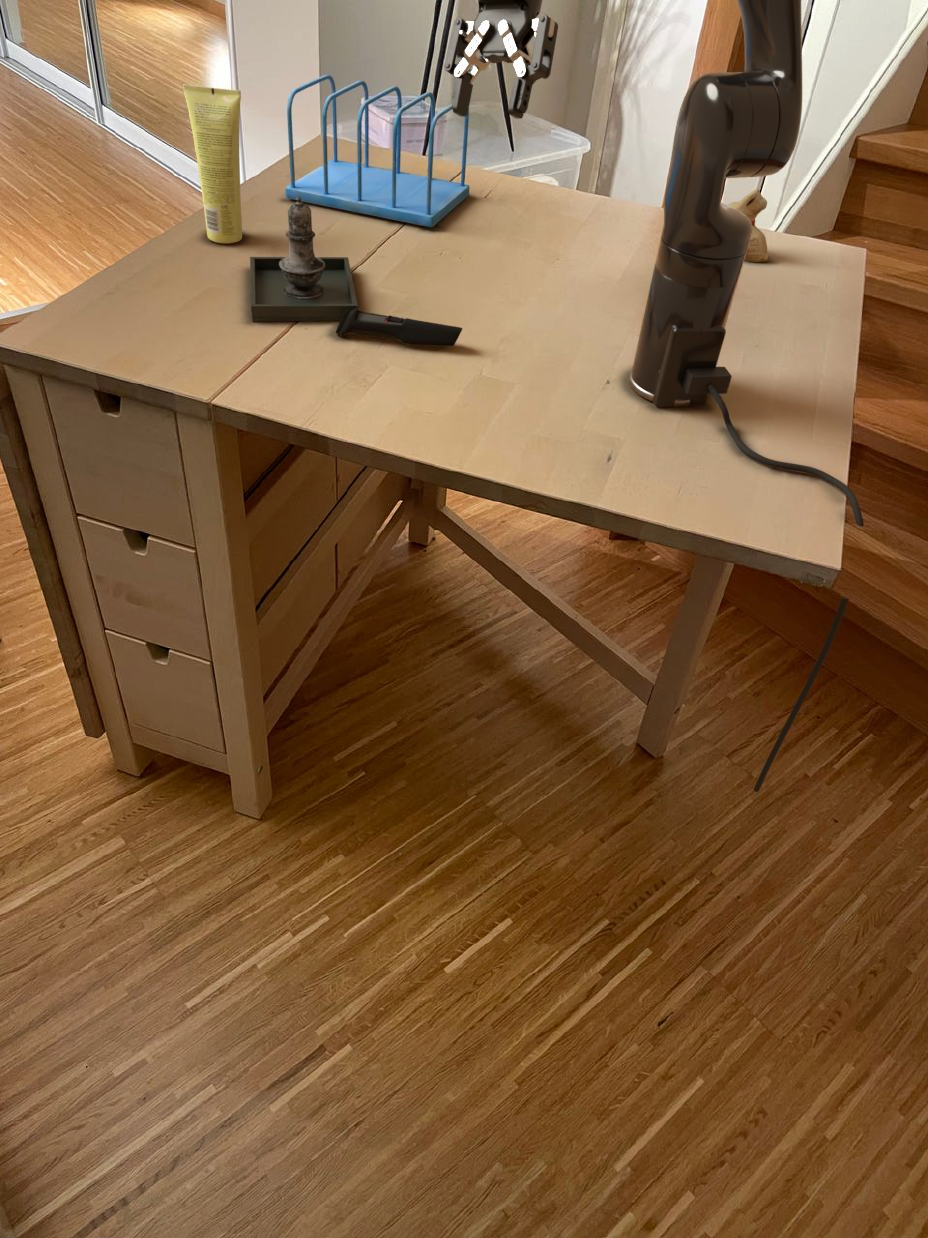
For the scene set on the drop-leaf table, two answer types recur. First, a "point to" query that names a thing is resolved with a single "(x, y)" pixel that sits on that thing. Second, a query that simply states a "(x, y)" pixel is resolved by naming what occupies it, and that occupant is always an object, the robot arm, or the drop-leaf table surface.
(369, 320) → the electric trimmer
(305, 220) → the salt shaker
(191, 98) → the tube
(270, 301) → the tray
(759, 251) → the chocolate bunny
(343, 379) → the drop-leaf table surface
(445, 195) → the file sorter
